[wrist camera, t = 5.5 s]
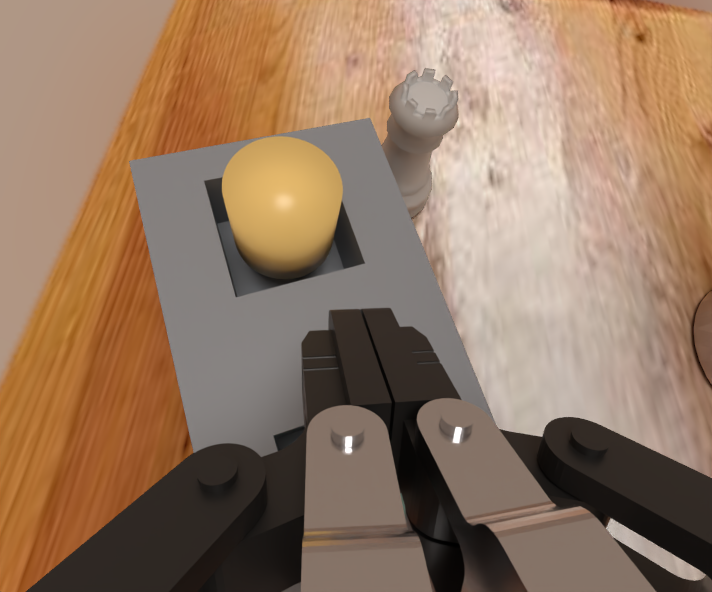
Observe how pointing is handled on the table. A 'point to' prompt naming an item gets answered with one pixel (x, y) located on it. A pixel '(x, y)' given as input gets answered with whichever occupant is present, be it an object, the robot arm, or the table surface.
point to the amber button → (282, 205)
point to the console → (280, 288)
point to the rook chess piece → (418, 132)
